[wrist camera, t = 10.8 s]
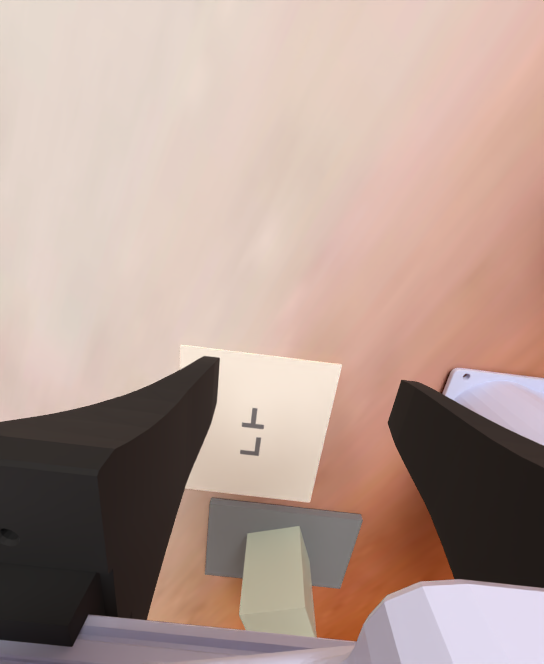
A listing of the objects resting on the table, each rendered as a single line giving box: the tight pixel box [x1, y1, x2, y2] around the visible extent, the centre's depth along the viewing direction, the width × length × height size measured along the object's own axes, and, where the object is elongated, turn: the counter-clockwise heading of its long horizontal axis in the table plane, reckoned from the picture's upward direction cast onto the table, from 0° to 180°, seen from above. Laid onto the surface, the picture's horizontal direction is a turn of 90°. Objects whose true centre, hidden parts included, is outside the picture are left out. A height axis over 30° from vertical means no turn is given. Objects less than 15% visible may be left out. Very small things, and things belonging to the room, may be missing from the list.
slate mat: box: [205, 498, 363, 589], centre depth 28 cm, size 14×10×1 cm
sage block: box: [239, 526, 317, 637], centre depth 24 cm, size 5×5×6 cm
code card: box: [180, 345, 342, 503], centre depth 23 cm, size 12×14×1 cm
